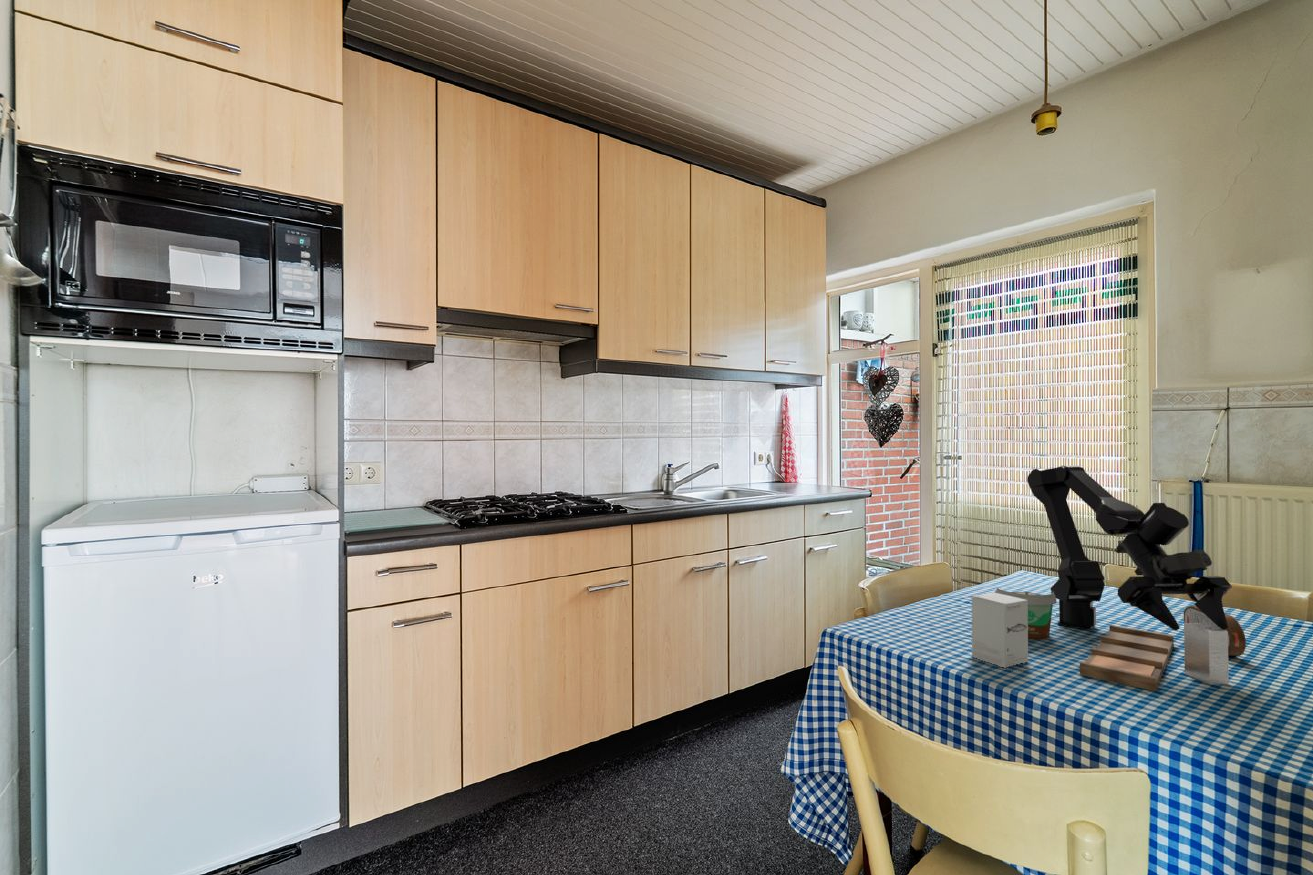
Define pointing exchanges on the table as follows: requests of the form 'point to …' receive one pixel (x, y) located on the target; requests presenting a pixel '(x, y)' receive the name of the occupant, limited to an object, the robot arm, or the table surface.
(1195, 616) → the tin
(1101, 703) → the table surface
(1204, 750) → the table surface
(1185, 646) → the brushed grey box
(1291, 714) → the table surface
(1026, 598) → the food container
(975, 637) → the supplement box
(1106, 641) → the rack
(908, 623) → the table surface
